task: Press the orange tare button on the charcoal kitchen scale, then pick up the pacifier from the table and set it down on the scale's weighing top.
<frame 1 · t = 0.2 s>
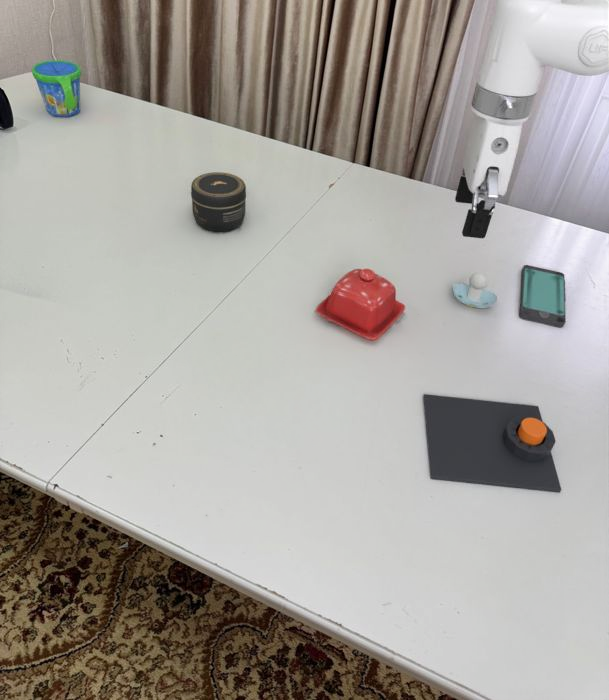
hand: (469, 218, 91), 17 cm above the table, tool pointing down, fingers open, 9 cm apart
butter dish: (359, 315, 100), on the table
snack cup: (64, 112, 149), on the table
scale: (486, 442, 82), on the table
pacifier: (472, 301, 105), on the table
tare button: (532, 431, 80), point 3 cm above the table, slide at 0.1 cm
jar: (219, 221, 118), on the table
smartphone: (541, 298, 107), on the table
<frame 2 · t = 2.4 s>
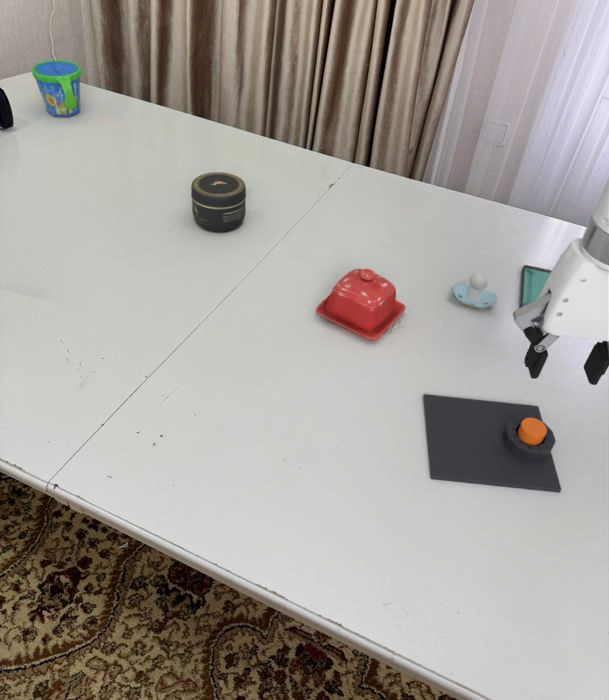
hand: (560, 372, 73), 14 cm above the table, tool pointing down, fingers open, 6 cm apart
nothing on the table moved.
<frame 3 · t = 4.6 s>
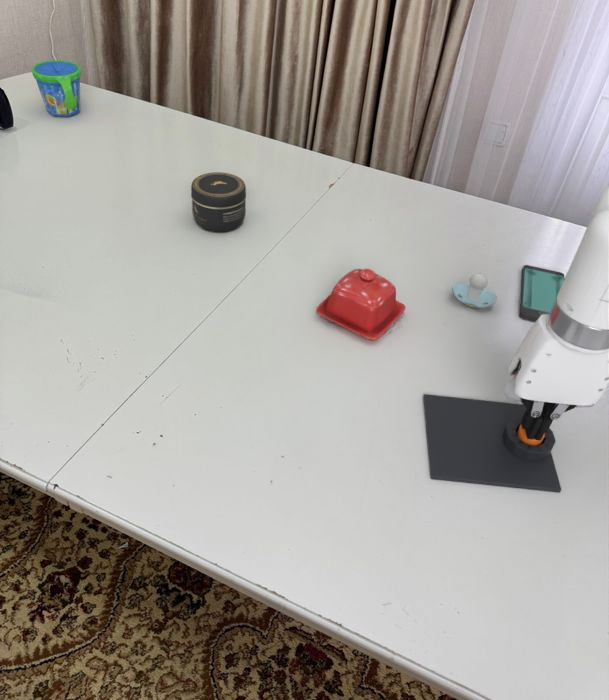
hand: (531, 431, 79), 3 cm above the table, tool pointing down, fingers closed
tare button: (530, 435, 80), point 2 cm above the table, slide at -0.7 cm, touching gripper
everything else where it was.
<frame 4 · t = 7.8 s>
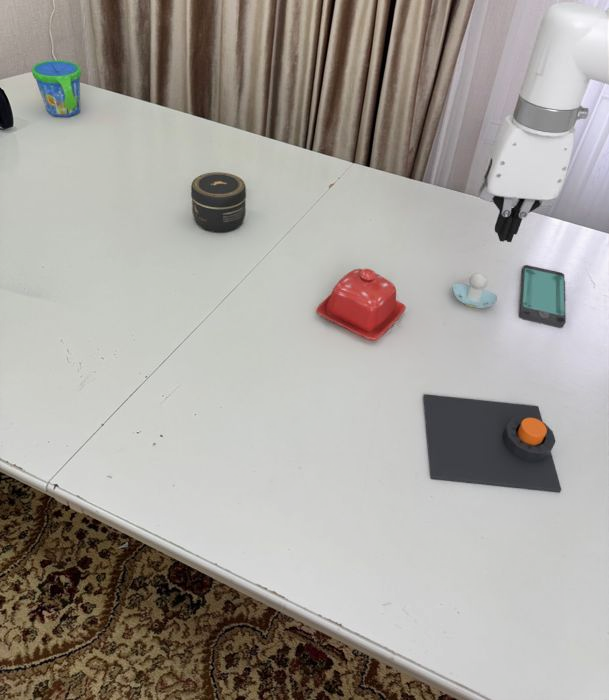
hand: (503, 236, 92), 15 cm above the table, tool pointing down, fingers closed
tare button: (532, 431, 80), point 3 cm above the table, slide at 0.1 cm
everything else where it was.
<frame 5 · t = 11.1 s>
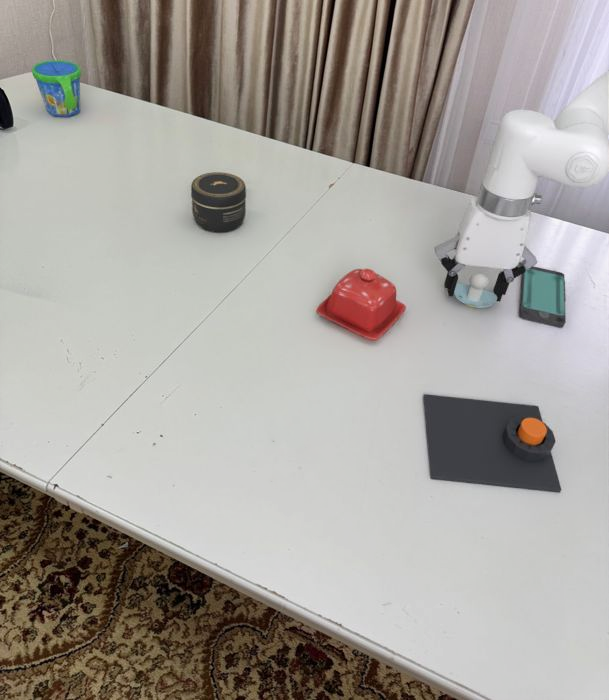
hand: (473, 293, 104), 1 cm above the table, tool pointing down, fingers closed on pacifier, 7 cm apart
pacifier: (472, 301, 105), on the table, touching gripper
everything else where it was.
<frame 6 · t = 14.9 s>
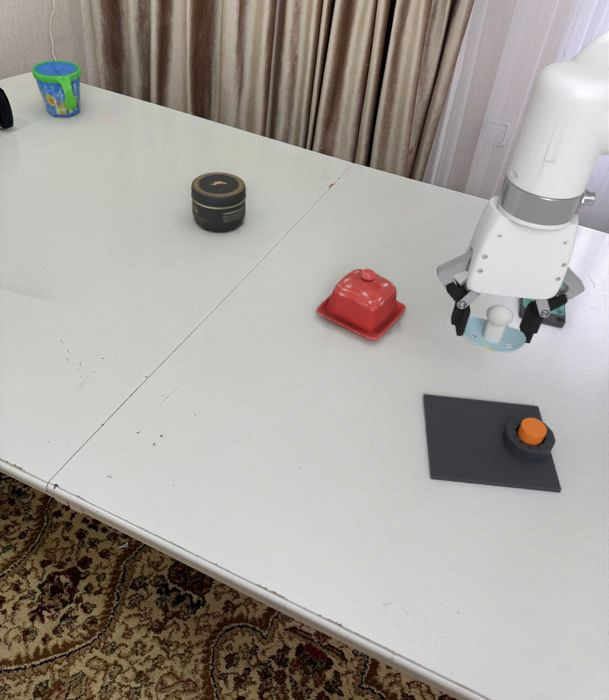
hand: (491, 331, 74), 16 cm above the table, tool pointing down, fingers closed on pacifier, 7 cm apart
pacifier: (490, 341, 75), point 14 cm above the table, touching gripper
everything else where it was.
when the fingers open (3 cm above the table, at t = 19.0 s): pacifier stays where it is, resting on scale.
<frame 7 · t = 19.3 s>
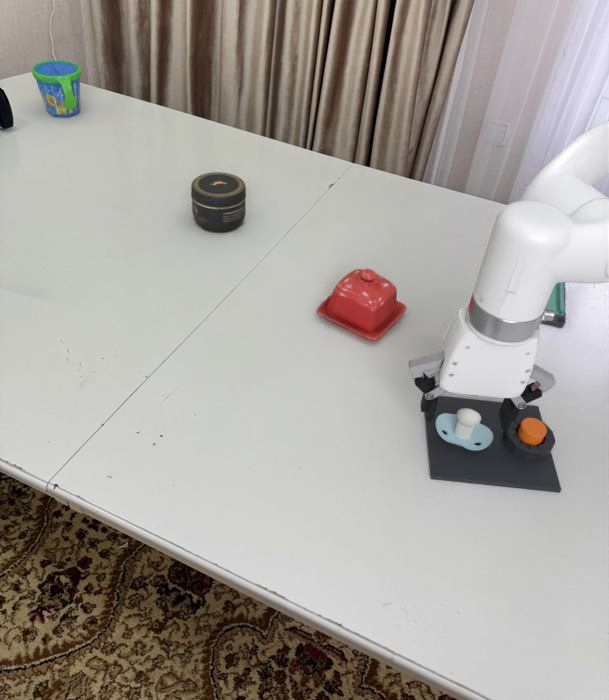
hand: (465, 417, 79), 4 cm above the table, tool pointing down, fingers open, 9 cm apart
pacifier: (461, 436, 81), point 1 cm above the table, touching scale
everything else where it was.
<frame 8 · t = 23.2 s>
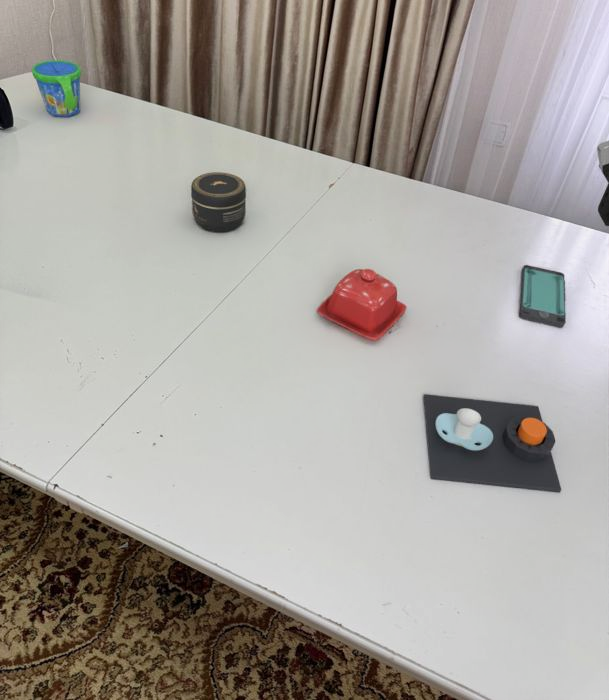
nothing on the table moved.
at the end: tare button pushed in 1.1 cm at the most during the clip, back to where it started at the end; tare button slide at 0.1 cm; pacifier inside the target area on the scale (0.1 cm from its centre), point 0.5 cm above the scale's base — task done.
